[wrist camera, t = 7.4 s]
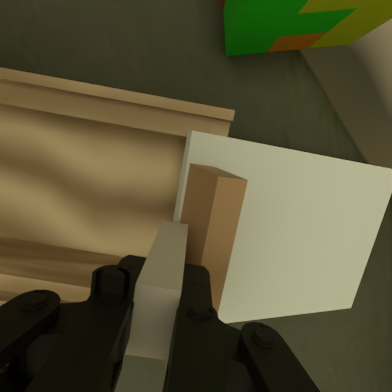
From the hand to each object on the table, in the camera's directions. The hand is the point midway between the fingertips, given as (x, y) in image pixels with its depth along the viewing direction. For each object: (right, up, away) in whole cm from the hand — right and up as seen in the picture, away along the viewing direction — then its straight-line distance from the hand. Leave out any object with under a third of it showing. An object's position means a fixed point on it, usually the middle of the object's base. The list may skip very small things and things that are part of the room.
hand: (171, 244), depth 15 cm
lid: (+9, -1, +6) cm, 10 cm away
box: (-9, +4, +9) cm, 13 cm away
